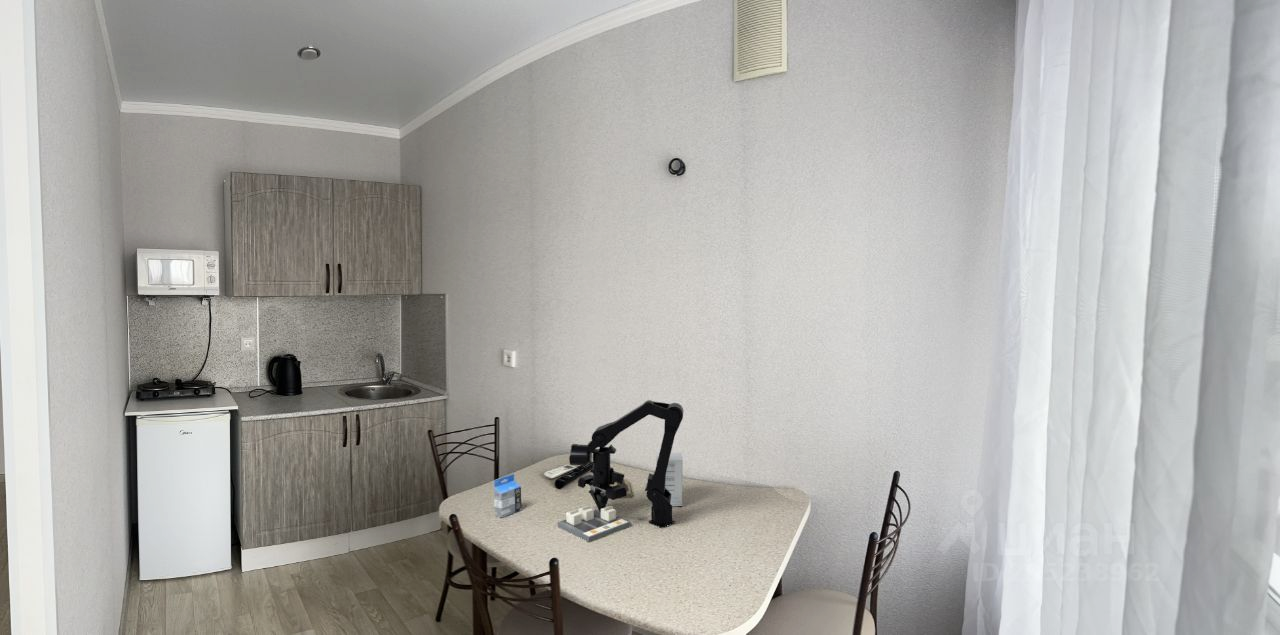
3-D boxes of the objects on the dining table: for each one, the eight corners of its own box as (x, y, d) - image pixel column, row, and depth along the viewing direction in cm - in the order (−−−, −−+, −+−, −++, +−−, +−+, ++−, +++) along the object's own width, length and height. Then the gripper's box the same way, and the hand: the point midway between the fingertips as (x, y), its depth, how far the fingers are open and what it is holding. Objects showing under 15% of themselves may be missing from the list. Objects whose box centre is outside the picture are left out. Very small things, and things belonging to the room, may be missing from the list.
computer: (632, 499, 215) (632, 490, 215) (610, 500, 214) (610, 491, 214) (628, 485, 230) (628, 476, 230) (607, 485, 229) (607, 477, 229)
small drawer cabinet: (682, 507, 206) (683, 460, 205) (656, 507, 206) (656, 460, 205) (681, 497, 215) (681, 452, 214) (656, 497, 215) (656, 452, 214)
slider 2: (615, 519, 191) (615, 507, 191) (608, 521, 189) (608, 509, 189) (607, 515, 194) (607, 504, 194) (600, 518, 192) (600, 506, 192)
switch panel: (630, 526, 189) (630, 521, 189) (588, 542, 177) (588, 536, 177) (598, 512, 201) (598, 507, 201) (557, 526, 189) (557, 521, 189)
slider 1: (581, 522, 188) (581, 511, 188) (574, 525, 186) (573, 513, 186) (573, 519, 191) (573, 507, 191) (566, 521, 189) (566, 510, 189)
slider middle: (593, 518, 192) (593, 507, 191) (586, 521, 189) (586, 509, 189) (586, 515, 194) (585, 503, 194) (578, 517, 192) (578, 506, 192)
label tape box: (501, 518, 196) (501, 482, 195) (493, 515, 198) (493, 479, 197) (522, 510, 203) (521, 475, 202) (514, 508, 205) (513, 473, 204)
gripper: (639, 466, 192) (639, 513, 193) (602, 455, 205) (602, 498, 206) (613, 474, 184) (613, 523, 185) (576, 461, 198) (577, 507, 199)
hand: (601, 512), depth 194 cm, fingers closed
